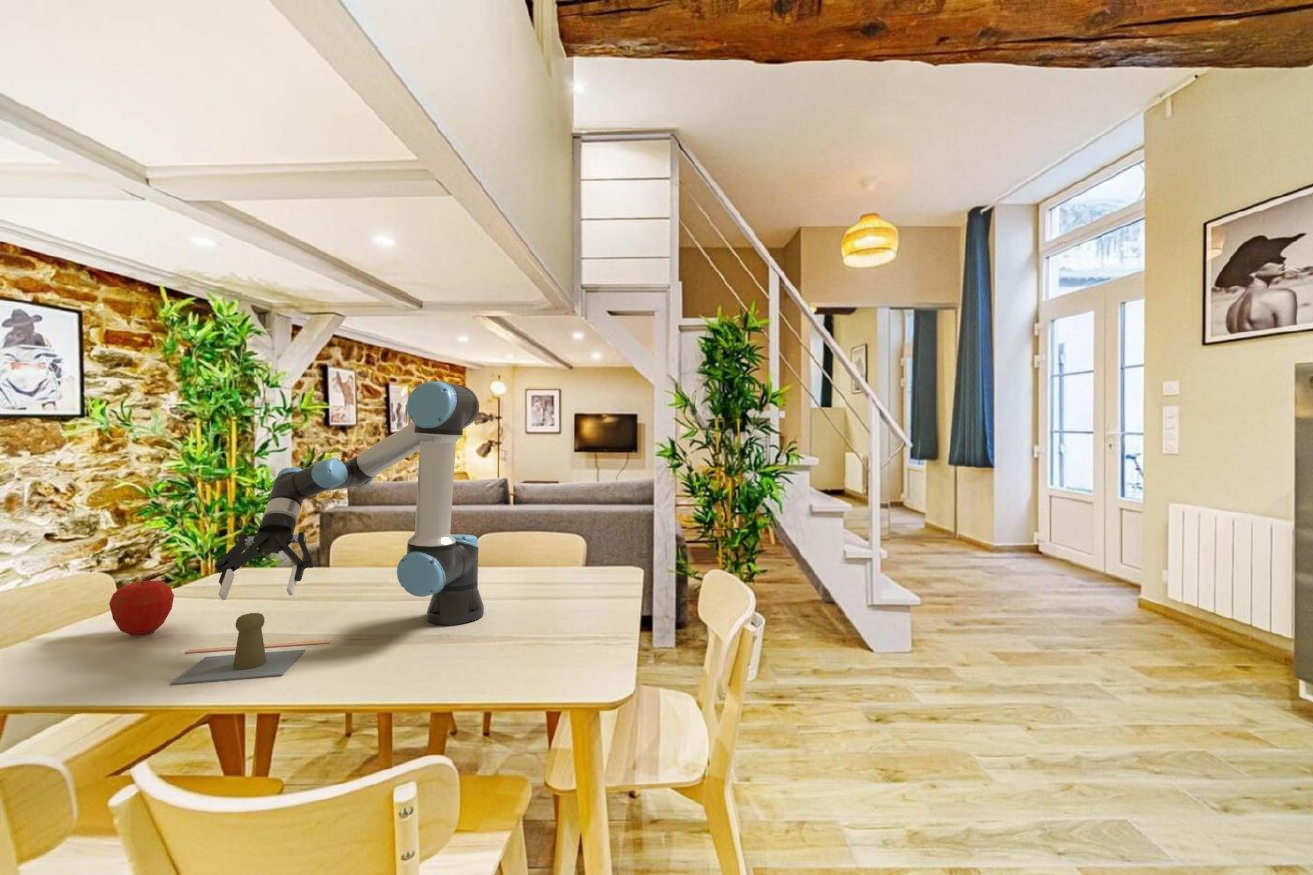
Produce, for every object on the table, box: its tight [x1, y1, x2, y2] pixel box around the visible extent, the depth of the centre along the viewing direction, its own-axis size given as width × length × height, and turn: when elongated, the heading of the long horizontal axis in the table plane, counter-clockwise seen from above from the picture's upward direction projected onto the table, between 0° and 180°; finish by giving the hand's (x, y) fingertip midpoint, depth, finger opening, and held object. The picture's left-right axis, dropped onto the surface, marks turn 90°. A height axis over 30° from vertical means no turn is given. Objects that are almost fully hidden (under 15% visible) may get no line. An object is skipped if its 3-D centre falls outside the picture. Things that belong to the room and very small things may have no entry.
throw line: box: [184, 639, 332, 654], centre depth 137 cm, size 30×2×1 cm, turn 105°
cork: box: [233, 612, 266, 670], centre depth 126 cm, size 6×6×11 cm
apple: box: [108, 578, 175, 637], centre depth 144 cm, size 12×12×14 cm
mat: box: [170, 649, 306, 686], centre depth 125 cm, size 20×14×1 cm
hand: (256, 594), depth 133 cm, fingers open, 13 cm apart
